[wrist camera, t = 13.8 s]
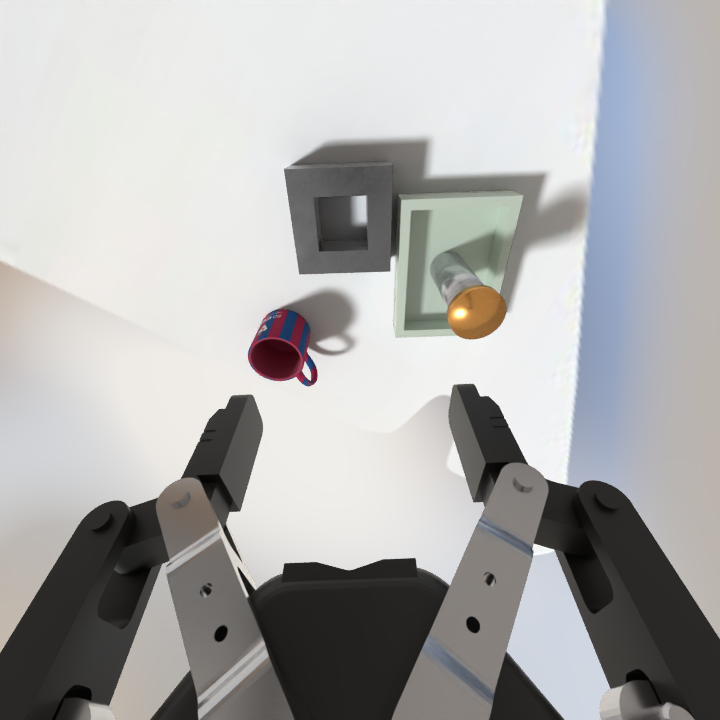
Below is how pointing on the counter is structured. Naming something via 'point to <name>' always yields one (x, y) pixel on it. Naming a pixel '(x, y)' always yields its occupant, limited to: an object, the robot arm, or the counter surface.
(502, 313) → the pin
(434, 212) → the tray
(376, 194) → the block
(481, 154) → the counter surface
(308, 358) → the mug
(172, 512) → the robot arm
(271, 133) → the counter surface
